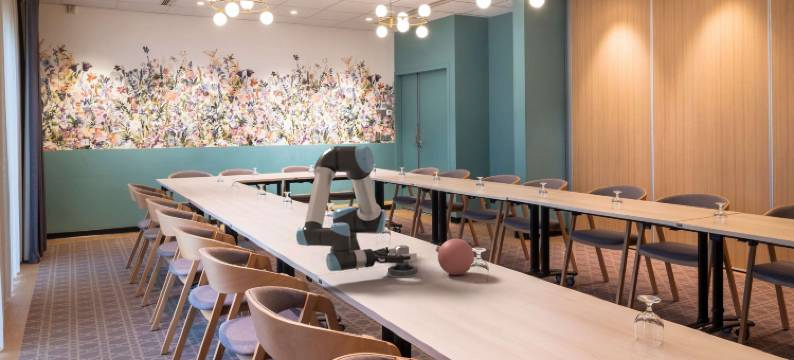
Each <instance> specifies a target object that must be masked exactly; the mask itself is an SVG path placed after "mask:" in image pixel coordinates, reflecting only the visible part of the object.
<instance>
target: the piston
mask: <svg viewBox="0 0 794 360" xmlns="http://www.w3.org/2000/svg"><path fill="white" fill-rule="evenodd" d="M394 248H395V255H403V254H410V247H409V246H408V245H404V244H402V245H396V246H395V247H394ZM394 264H395V265H394V266H396V270H399V271H406V270H410V269H409V265H410V261H404V263H403V264H402V263H394Z"/></svg>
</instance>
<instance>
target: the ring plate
mask: <svg viewBox="0 0 794 360" xmlns="http://www.w3.org/2000/svg"><path fill="white" fill-rule="evenodd" d="M409 269H410V270H406V271H399V270H396V266H395V265H391V266H389V267H388V268H387V272H386V275H387V276H388V277H391V278H398V279H399V278H413V277H417V276H418V275H420V272H419V270H418V267H416V266H415V265H414V264H413V265H411V264H409Z"/></svg>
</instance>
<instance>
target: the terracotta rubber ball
mask: <svg viewBox="0 0 794 360" xmlns="http://www.w3.org/2000/svg"><path fill="white" fill-rule="evenodd" d="M472 249H473V247H472V245H470V244H469V242H467V241H466V240H464V239H460V238H451V239H448V240H446V241H445V242H443V243H442V244H441V245H437V246H436V249H435V251H436V253H437V261H438V264H439V266H440V268H441V269H442V270H443V271H444V272H446V274H449V275H452V276H460V275H465V273H467V272H469V270H470V269H471V268H472V267H471V264H472V263H473V264H474V261H475V253H474V250H473V251H471V250H472ZM470 267H471V268H470Z"/></svg>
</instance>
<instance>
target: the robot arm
mask: <svg viewBox="0 0 794 360" xmlns="http://www.w3.org/2000/svg"><path fill="white" fill-rule="evenodd" d="M374 158H375V157H374V153H373V151H372V149H371V148H370V147H369V146H367V145H336V146H331V147H329V148H328V149H326V150H325V151H324V152H323V153H322V154H320V156H319V157H318V159H317V160H316V163H315V165H314V169H313V174H314V178H313V179H314V180H313V184H312V189H311V193H310V196H309V197H310V198H309V201H308V207H307V212H306V216H305V221H304V226H302V227H298V228H297V231H296V235H295V238H296V243H297V244H298V245H300V246H306V247H309V246H311V247H313V246H314V247H316V246H317V247H319V246H320V247H330V249H329V253H327V254H326V259H325V262H326V264H325V265H326V267H327V269H328V271H330V272H342V271H348V270H354V269H355V270H357V271H358V270H359V269H362V268H363V269H364V268H370V267H371V268H372V267H374V266H375V263H379V264H395V263H402V264H403V263H404V261H409V262H411V261H417V258H418V256H417V255H418V254H417V252H416V253H415V252H413V253H412V252H411V253H409V254H403V255H395V247H392V248H391V247H390V248H389V247H388V246H385V247H383V248H378V249H375V250H373V249H372V248H367V249H361V246H360V242H359V240H358V238H357V237H358V235H357V234H368V235H369V234H371V235H372V234H374V235H375V234H376V235H377V234H383V233H384V232H385V228H386V221H387V211H386V210H385V209H382V208H381V206H380V205H379V204H378V203H377V201H376V197H375V193H374V188H373V184H372V180H371V173H372V172H373V170H374V167H375V160H374ZM337 173H345V174H346V176H347V178H348V179H349V180H351V183H352V187H353V191H354V195H355V198H356V201H357V205H358V208H357V207H356V206H343V207H339V208H336V209H334V210H333V212H332V224H331V225H330V227H323V226H324V221H325V214H326V211H327V206H328V201H329V197H330V191H331V187H332V181H333V179H334V178H335V177H336V174H337Z"/></svg>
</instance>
